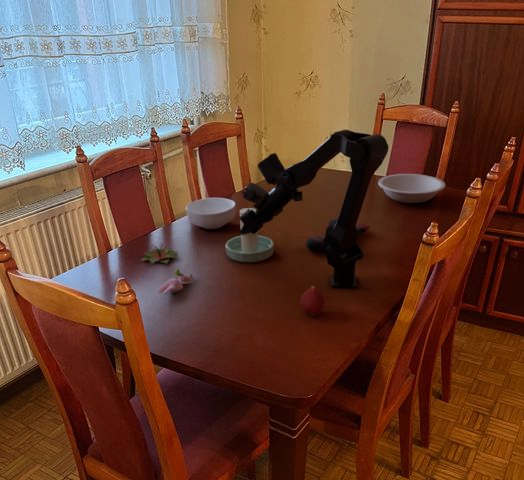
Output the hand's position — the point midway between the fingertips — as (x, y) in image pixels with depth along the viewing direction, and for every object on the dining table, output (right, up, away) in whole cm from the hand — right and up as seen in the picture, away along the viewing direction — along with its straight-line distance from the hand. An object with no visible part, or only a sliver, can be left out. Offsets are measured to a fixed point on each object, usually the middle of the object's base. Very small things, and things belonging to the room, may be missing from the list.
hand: (245, 230), depth 162 cm
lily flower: (-26, -8, +3) cm, 27 cm away
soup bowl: (+60, +20, +41) cm, 76 cm away
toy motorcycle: (+30, -2, +10) cm, 32 cm away
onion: (+18, -27, -28) cm, 43 cm away
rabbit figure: (-18, -20, -16) cm, 31 cm away
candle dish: (+1, -6, +4) cm, 7 cm away
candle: (+1, -6, +3) cm, 7 cm away
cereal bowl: (-12, +7, +25) cm, 28 cm away
